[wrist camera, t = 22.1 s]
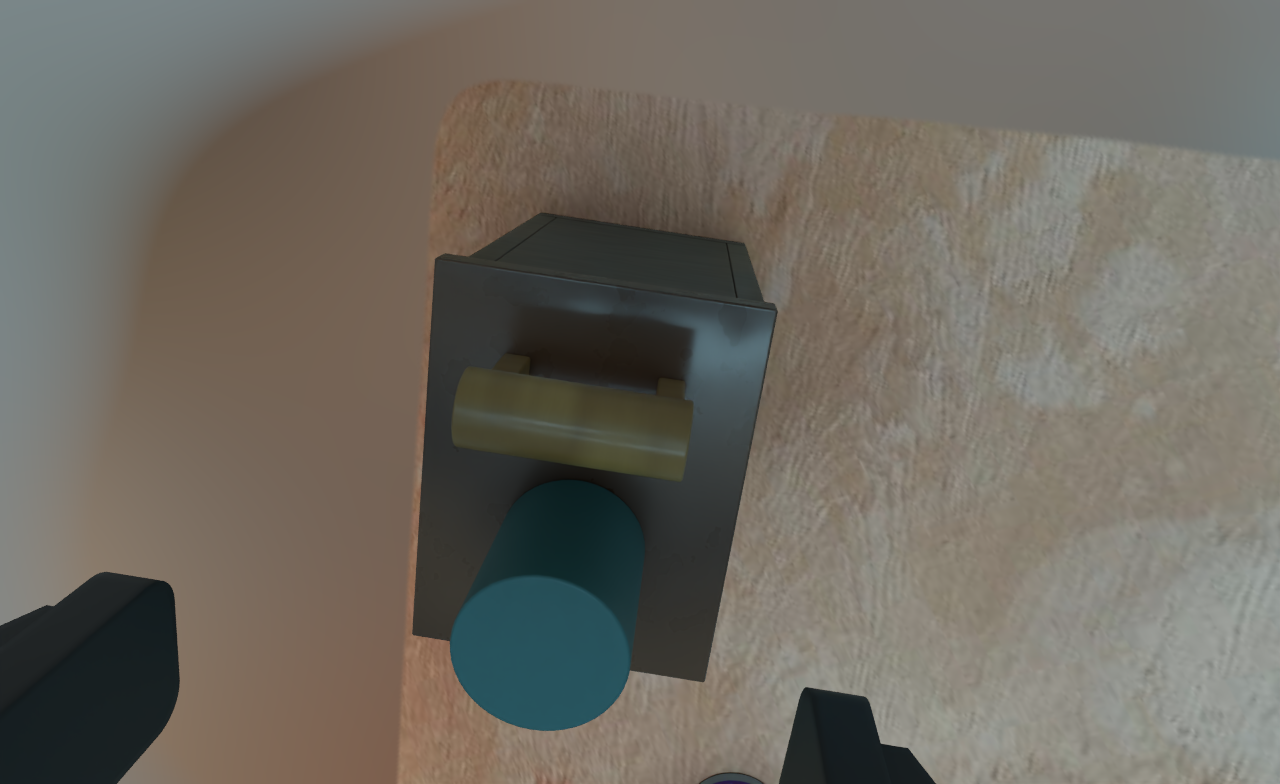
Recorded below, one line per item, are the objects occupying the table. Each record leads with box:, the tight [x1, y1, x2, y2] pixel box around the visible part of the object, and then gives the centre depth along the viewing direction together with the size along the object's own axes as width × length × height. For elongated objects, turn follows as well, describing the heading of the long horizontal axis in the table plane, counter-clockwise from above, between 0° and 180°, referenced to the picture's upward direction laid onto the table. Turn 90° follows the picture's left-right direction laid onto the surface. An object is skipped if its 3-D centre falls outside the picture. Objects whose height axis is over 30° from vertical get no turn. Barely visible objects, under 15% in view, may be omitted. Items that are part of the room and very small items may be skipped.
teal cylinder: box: [450, 480, 645, 731], centre depth 21 cm, size 4×4×5 cm
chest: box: [469, 213, 764, 302], centre depth 30 cm, size 11×9×14 cm
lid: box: [412, 253, 778, 682], centre depth 21 cm, size 11×9×5 cm
